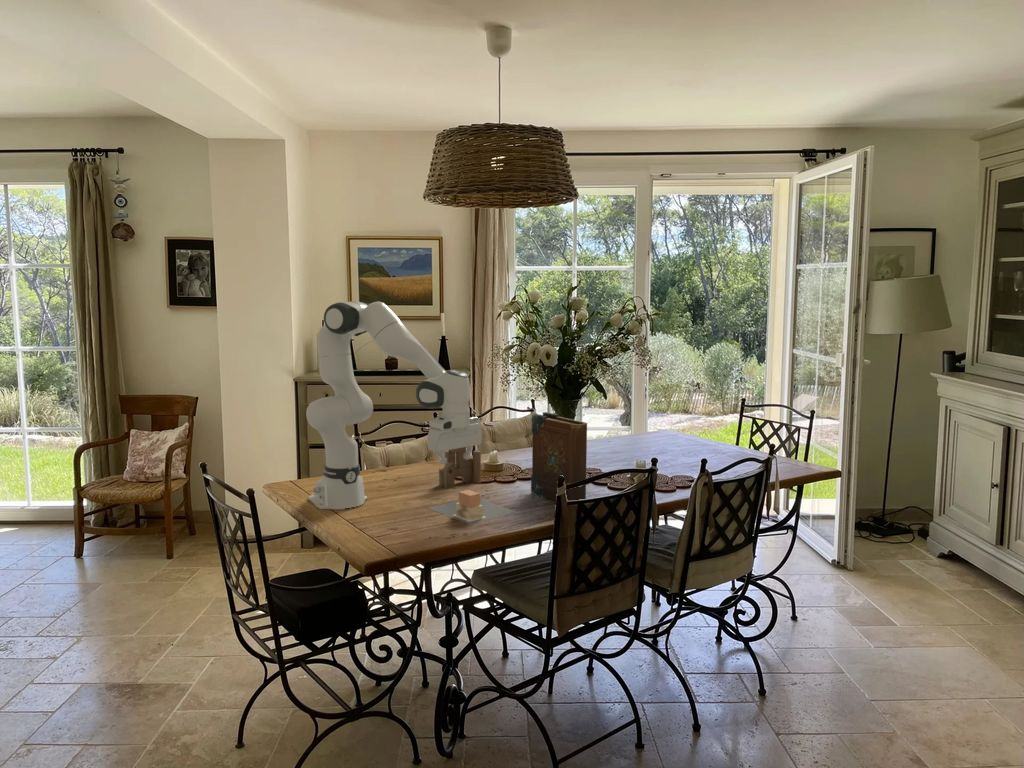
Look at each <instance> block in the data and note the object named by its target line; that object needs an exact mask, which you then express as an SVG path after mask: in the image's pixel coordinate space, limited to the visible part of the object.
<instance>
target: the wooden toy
mask: <svg viewBox="0 0 1024 768" xmlns="http://www.w3.org/2000/svg"><path fill="white" fill-rule="evenodd" d="M466 450H467V448H466V447H463V448H457V449H452V450H447V451H445V454H444V457H445V458H447V463H446V464H444V467H443V468H439V469H438V475H439V476H438V482H439V486H441V487H442V488H445V489H446V490H447V489H453V488H455V478H457V477H461V480H462V482H463V483H465V484H469V483H473V484H476V483H478V484H482V469H481V468H482V465H481V463H482V451H481V450H477V449H475V450H472V457H470V459H467V460H465V459H464V458H463V457H464V456H463V454H464V453H466Z"/></svg>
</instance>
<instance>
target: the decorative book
mask: <svg viewBox="0 0 1024 768" xmlns="http://www.w3.org/2000/svg"><path fill="white" fill-rule="evenodd" d="M530 433H531V434H532V452H531V454H532V457H531V458H532V459H531V462H532V465H531V467H532V468H531V472H532V473H531V475H530V494H531V495H532V494H533V495H535V496H538V497H540V496H541V497H540V498H548V499H551V500H554V501H556V500H555V499H556V494H557V478H558V477H559V476H560V475H563V476H564V479H565V483H566V484H567V483H573V482H577V481H581V480H584V479H586V480H587V457H588V455H587V450H588V449H587V447H588V446H587V444H588V441H587V439H588V422H586V421H585V422H584V421H581V420H576V419H572V418H566V417H562V416H559V414H558V413H557V414H556V413H552V412H548V411H544V412H542V414H539V413H532V414H531V432H530ZM586 494H587V484H586V485H583V486H581V487H576V488H572V489H567V490H566V495H567V499H568V500H579V499H587V498H586Z"/></svg>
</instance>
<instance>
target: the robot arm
mask: <svg viewBox="0 0 1024 768" xmlns="http://www.w3.org/2000/svg"><path fill="white" fill-rule="evenodd" d="M323 323H324V325H323V326H321V327H320V328H319V331H318V335H317V336H318V338H317V354H318V356H317V357H318V365H319V372H320V373H319V374H320V378H321V380H322V382H323V383H325V384H326V385H329V386H330V387H331V388H332V390H333V392H334V395H332V396H331V395H330V396H326V397H321V398H318V399H316V400H313V401H311V402H310V403H309V404H308V405H307V408H306V412H305V413H306V417H305V418H306V420H307V422H308V425H310V427H312V428H313V429H315V430H316V431H317V432H318V433H319V434H320V436H321V439H322V440H323V444H324V450H325V451H324V452H325V465H323V476H322V477H321V478H319V479H318V481H317V482H315V484H314V487H313V494H310V495H309V496H308V498H307V499H308V500H309V501H310V502H311V503H312V504H313V505H314V506H315V505H316V506H317V507H318V508H319V509H318V508H317V507H316V506H315V507H316V508H317V509H318V510H344V509H343V508H350V509H352V508H351V507H355V508H357V507H356V506H358V507H360V506H359V505H361V506H362V504H363V503H365V501H367V500H368V496H367V495H365V489H364V478H363V477H362V476H360V474H361V467H360V464H359V448H358V447H359V445H358V442H357V441H356V439H354V438H353V437H351V436H349V435H348V433H347V430H346V426H353V425H356V424H357V425H358V424H360V423H363V422H364V421H366V420H369V419H370V418H371V416H372V414H373V412H374V404H373V401H372V399H371V398H370V396H369V395H368V394H366V393H365V392H363V390H362V389H361V388H360V386H359V385H358V382H357V380H356V377H355V374H354V368H353V360H352V351H351V340H352V338H353V337H354V336H355V337H358V336H361V335H363V334H365V333H368V334H369V335H370V337H371V338H372V339H373V341H374V342H375V344H376V345H377V346H378V347H379V349H380V350H381V351H383V352H384V354H386V355H387V356H389V357H392V358H398V359H402V360H406V361H409V362H410V363H412V364H414V365H415V366H416V367H417V368H418V369H419V370H420V371H421V373H423V375H424V376H425V377H426V378H427V379H425V380H423V381H421V382H419V383H418V384H417V386H416V389H415V398H416V401H417V403H418V404H419V405H420V406H421V407H423V408H425V409H436V408H441V409H442V413H441V414H440V415H437V416H436V417H435V418H432V419H431V420H429V422H428V423H429V427H430V429H429V431H428V434H427V448H428V450H429V451H430V452H433V453H437V454H438V457H439V458H440V464H442V465H445V464H446V463H447V458H445V452H447V451H448V450H452V449H457V448H463V447H466V453H464V454H463V456H464V457H463V458H464V459H465V460H467V459H470V458H471V454H472V453H473V451H474V446H478V445H479V446H480V445H481V444H482V442H483V431H482V420H481V419H480V418H478V417H477V416H475V417H471V415H470V414H471V413H470V412H471V410H470V405H469V404H470V399H471V385H470V378H469V376H468V374H467V373H465V372H464V371H461V370H457V369H448V370H445V368H444V367H442V365H441V364H440V363H439V362H438V361H437V359H436V358H435V357H434V356H433V355H432V354H431V353H430V351H429V350H428V349H427V348H426V347H425V346H424V345H423V344H422V343H421V342H420V341H419V340H418V339H417V338H416V337H415V336H414V335H413V334H412V333H411V332H410V331H409V329H408V328H407V327H406V326H405V325H404V323H403V322H402V320H401V319H400V318H399V317H398V315H397V314H396V313H395V312H394V311H393V310H392V309H391V308H390V307H389V306H388V305H387V304H386V303H385V302H382V301H374V302H371V303H367V302H363V301H349V300H348V301H346V302H345V301H344V302H335V303H333V304H331V305H329V306H328V307H327V308H326V309H325V311H324V314H323ZM366 499H367V500H366ZM363 505H364V504H363Z"/></svg>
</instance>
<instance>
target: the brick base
mask: <svg viewBox="0 0 1024 768" xmlns="http://www.w3.org/2000/svg"><path fill="white" fill-rule="evenodd" d="M456 515H457V516H460V517H463V518H465V519H468V520H470V521H472V520H475V519H479V518H483V506H482V505H479V506H475V507H471V508H470V507H467V506H464V505H461V504H459V503H456Z"/></svg>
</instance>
